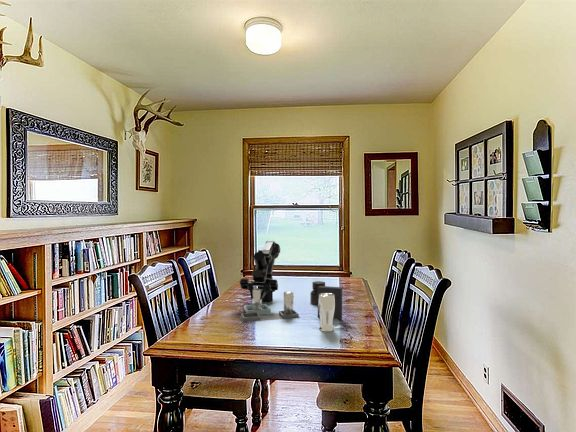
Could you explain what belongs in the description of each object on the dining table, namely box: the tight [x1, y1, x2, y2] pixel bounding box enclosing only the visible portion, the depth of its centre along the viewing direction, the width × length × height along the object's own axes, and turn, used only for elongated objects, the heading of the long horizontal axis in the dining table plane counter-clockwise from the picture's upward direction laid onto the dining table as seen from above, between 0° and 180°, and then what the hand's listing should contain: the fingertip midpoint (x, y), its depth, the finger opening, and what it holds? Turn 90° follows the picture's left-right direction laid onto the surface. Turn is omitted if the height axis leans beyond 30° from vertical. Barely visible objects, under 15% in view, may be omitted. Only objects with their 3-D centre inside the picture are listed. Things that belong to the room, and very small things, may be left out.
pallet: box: [239, 309, 301, 323], centre depth 190 cm, size 27×10×2 cm, turn 104°
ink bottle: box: [309, 280, 326, 306], centre depth 218 cm, size 10×9×12 cm
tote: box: [243, 303, 272, 315], centre depth 201 cm, size 11×11×3 cm
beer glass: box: [317, 293, 335, 333], centre depth 174 cm, size 7×7×15 cm
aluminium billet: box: [251, 287, 263, 310], centre depth 201 cm, size 4×4×11 cm
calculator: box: [317, 285, 343, 322], centre depth 190 cm, size 11×4×15 cm, turn 71°
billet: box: [283, 290, 294, 315], centre depth 193 cm, size 4×4×11 cm
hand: (256, 298), depth 200 cm, fingers closed on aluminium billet, 4 cm apart
